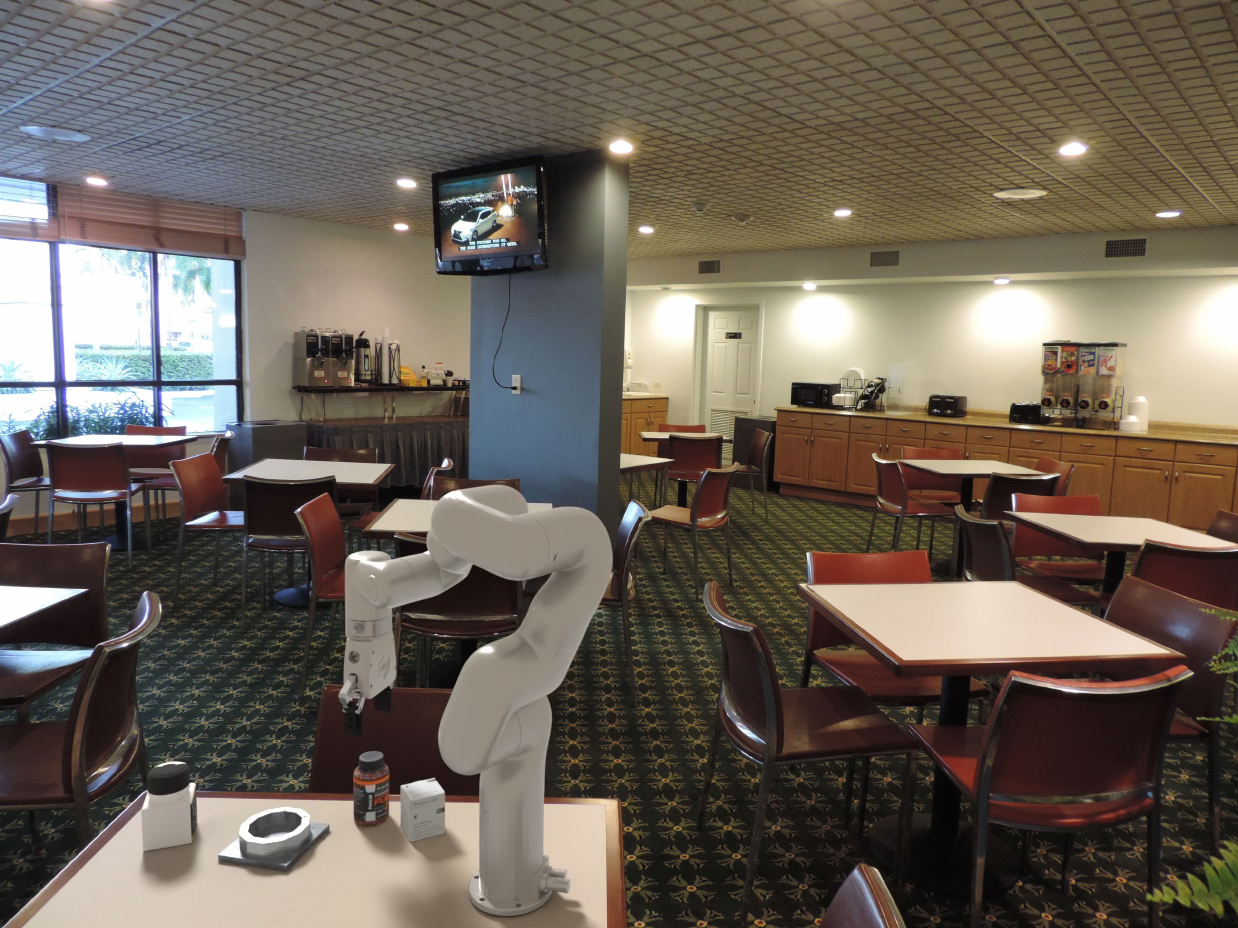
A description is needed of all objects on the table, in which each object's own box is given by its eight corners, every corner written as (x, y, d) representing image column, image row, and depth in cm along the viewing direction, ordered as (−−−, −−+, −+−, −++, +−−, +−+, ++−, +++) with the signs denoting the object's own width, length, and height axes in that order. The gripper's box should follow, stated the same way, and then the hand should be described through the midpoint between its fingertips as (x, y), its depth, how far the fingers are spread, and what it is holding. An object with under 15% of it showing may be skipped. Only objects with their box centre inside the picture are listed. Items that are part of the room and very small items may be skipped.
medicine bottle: (192, 843, 133) (190, 773, 131) (142, 852, 130) (139, 780, 129) (197, 821, 139) (195, 754, 138) (149, 828, 137) (146, 760, 135)
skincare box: (410, 843, 134) (409, 800, 133) (399, 825, 139) (399, 784, 139) (446, 833, 137) (445, 791, 137) (434, 816, 143) (434, 776, 142)
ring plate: (329, 829, 138) (329, 809, 137) (286, 871, 126) (286, 850, 126) (266, 820, 140) (265, 800, 140) (218, 860, 128) (217, 839, 128)
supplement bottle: (379, 829, 138) (378, 765, 137) (346, 825, 139) (345, 761, 138) (395, 811, 144) (395, 750, 142) (364, 807, 145) (363, 746, 144)
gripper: (362, 643, 129) (363, 747, 131) (412, 612, 145) (412, 704, 147) (319, 639, 130) (321, 741, 132) (374, 608, 147) (374, 699, 149)
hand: (369, 721), depth 140 cm, fingers open, 9 cm apart
